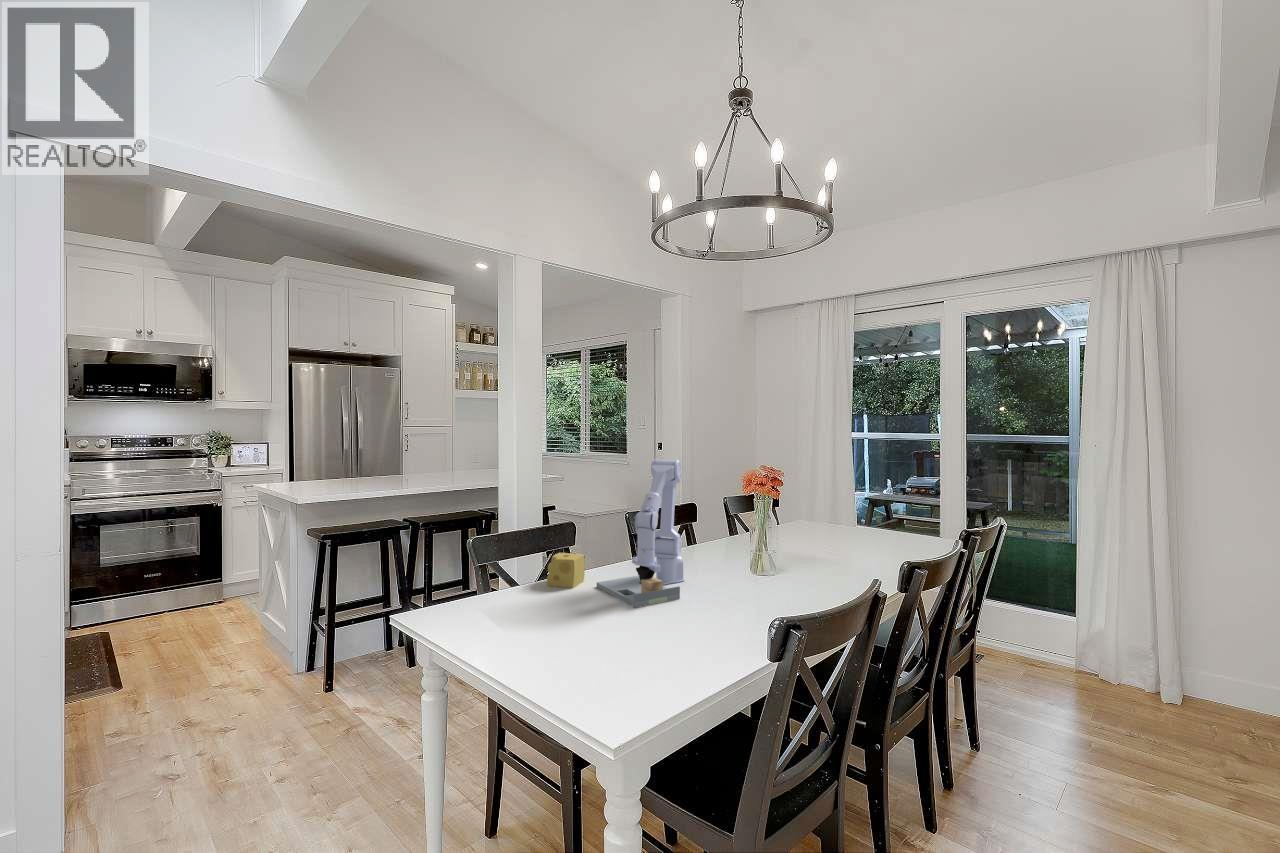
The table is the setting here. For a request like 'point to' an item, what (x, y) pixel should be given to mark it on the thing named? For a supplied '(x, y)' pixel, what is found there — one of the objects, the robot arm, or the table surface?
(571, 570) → the cheese
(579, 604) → the table surface
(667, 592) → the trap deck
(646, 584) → the oak block
